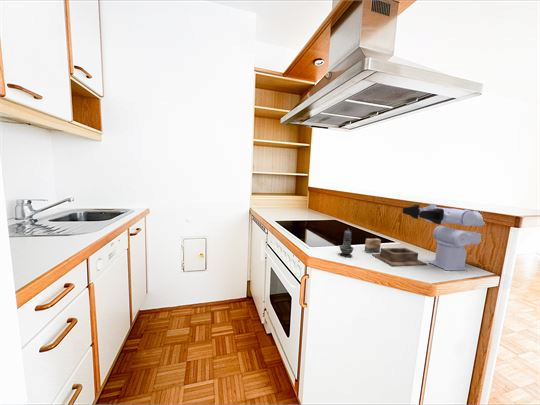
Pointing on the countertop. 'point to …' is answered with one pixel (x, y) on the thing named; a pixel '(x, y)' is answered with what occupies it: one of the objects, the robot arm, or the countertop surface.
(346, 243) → the grey stone statuette
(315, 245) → the countertop surface
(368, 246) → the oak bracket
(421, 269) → the countertop surface
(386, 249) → the brown flanged tray
